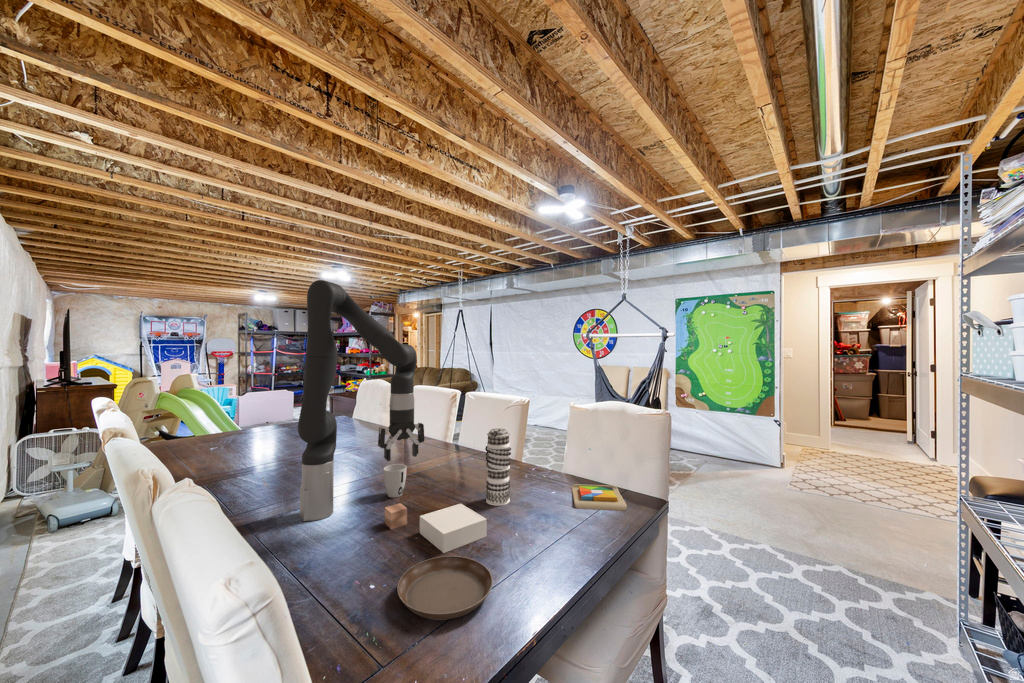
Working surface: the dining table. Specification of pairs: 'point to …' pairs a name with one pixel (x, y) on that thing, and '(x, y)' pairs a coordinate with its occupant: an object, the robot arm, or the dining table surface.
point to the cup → (395, 479)
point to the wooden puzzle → (598, 497)
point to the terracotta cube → (395, 516)
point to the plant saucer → (444, 587)
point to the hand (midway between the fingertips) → (401, 458)
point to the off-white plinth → (453, 527)
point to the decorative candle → (498, 467)
